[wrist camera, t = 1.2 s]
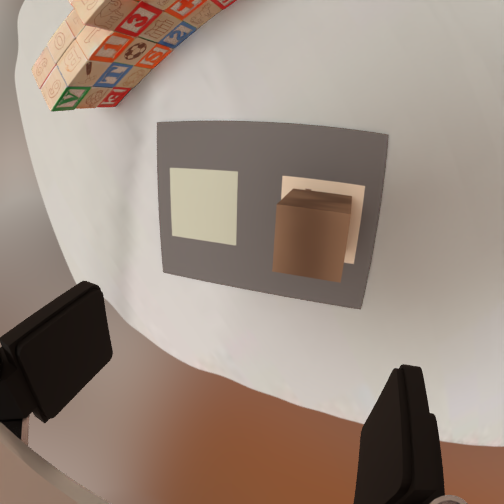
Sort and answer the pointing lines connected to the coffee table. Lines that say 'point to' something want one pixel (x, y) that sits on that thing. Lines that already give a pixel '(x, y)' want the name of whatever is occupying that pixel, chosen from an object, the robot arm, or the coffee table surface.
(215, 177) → the mat
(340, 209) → the walnut block
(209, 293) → the coffee table surface
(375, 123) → the coffee table surface
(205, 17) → the stack of blocks
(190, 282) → the coffee table surface
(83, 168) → the coffee table surface
